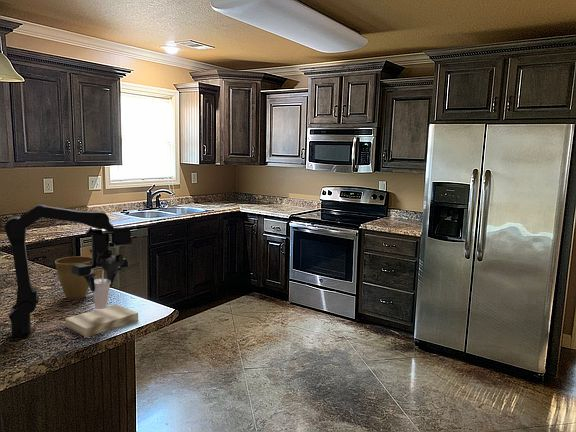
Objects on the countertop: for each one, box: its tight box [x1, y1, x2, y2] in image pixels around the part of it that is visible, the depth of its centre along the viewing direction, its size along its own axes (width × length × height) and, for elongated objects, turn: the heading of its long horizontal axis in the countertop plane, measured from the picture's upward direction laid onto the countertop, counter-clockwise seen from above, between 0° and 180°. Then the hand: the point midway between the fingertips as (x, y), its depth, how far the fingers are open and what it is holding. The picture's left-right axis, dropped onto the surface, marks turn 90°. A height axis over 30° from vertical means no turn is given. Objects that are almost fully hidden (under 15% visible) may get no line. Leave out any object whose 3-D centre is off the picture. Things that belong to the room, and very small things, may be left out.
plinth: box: [64, 303, 139, 338], centre depth 160 cm, size 20×14×3 cm
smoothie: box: [93, 268, 111, 310], centre depth 158 cm, size 6×6×14 cm
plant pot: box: [54, 255, 92, 300], centre depth 188 cm, size 15×15×16 cm
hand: (101, 289), depth 158 cm, fingers closed on smoothie, 6 cm apart
